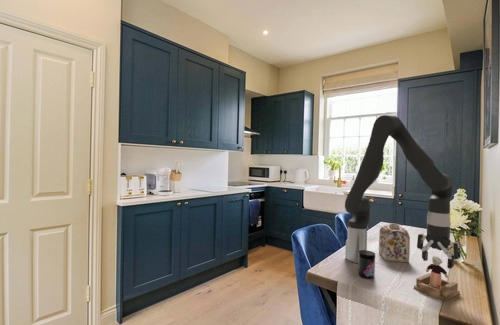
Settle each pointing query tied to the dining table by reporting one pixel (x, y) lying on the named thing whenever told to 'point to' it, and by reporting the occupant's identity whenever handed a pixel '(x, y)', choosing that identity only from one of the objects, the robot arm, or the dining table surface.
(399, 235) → the decorative jar
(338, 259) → the dining table surface
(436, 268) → the grandmother figurine
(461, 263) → the dining table surface
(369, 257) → the supplement container
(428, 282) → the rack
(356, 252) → the robot arm
